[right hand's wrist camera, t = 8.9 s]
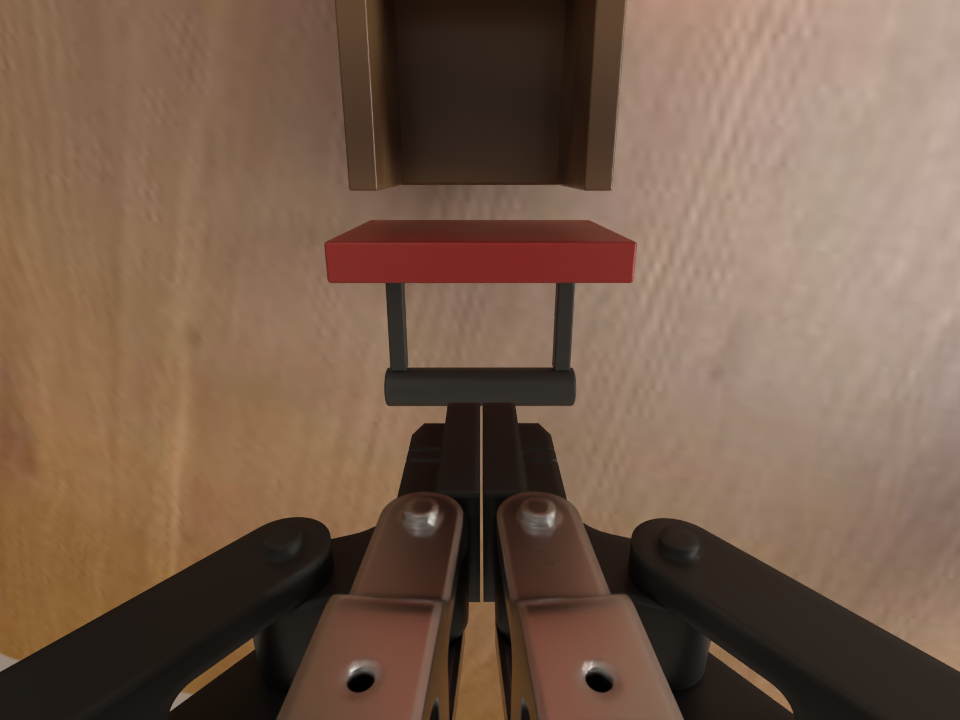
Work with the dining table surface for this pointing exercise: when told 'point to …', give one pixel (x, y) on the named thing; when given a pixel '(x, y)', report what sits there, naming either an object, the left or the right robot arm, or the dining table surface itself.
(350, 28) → the drawer
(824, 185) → the dining table surface
